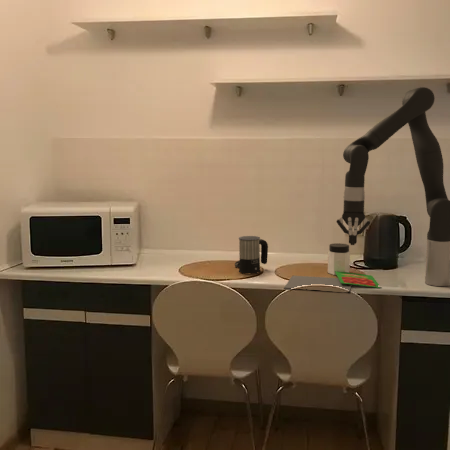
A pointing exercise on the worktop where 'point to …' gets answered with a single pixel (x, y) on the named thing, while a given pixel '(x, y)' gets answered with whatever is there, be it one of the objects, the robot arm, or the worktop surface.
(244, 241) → the milk frother
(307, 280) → the mat
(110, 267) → the worktop surface
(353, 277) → the tomato puree packet
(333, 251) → the jar
